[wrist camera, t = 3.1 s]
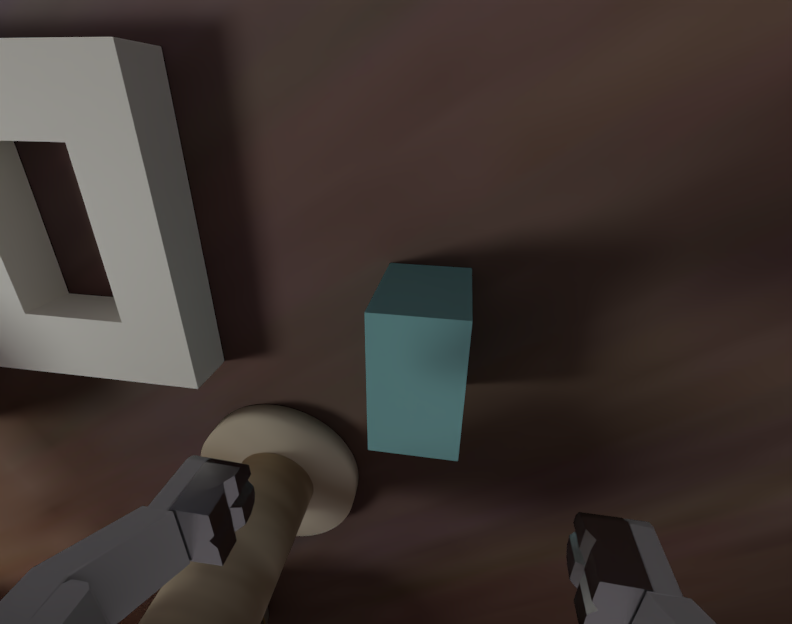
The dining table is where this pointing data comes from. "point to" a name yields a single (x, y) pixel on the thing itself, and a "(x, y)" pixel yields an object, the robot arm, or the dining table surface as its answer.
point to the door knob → (264, 513)
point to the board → (102, 218)
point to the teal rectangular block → (418, 359)
